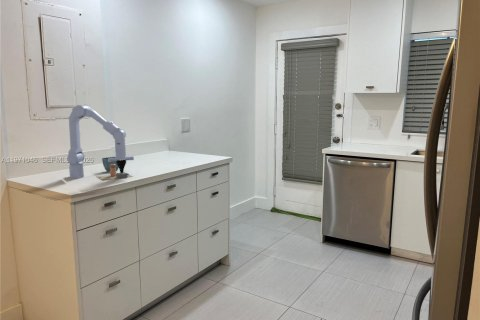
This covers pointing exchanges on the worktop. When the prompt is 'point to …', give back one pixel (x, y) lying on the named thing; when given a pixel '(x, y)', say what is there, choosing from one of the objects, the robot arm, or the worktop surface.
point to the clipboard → (109, 177)
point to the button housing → (121, 175)
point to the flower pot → (108, 164)
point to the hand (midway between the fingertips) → (121, 172)
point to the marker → (112, 169)
